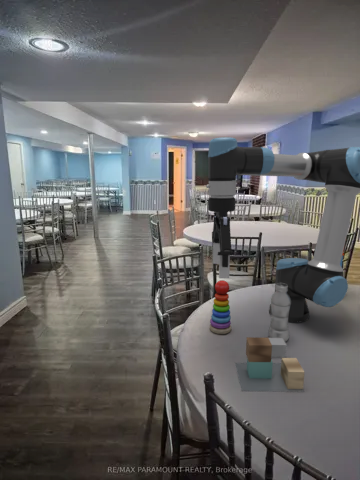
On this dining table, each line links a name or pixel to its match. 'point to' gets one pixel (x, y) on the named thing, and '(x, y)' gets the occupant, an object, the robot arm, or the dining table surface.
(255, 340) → the walnut block
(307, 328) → the dining table surface
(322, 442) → the dining table surface
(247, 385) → the slate board
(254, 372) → the teal block
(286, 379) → the oak block
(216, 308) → the stacking toy
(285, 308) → the plastic bottle
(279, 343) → the grey block
